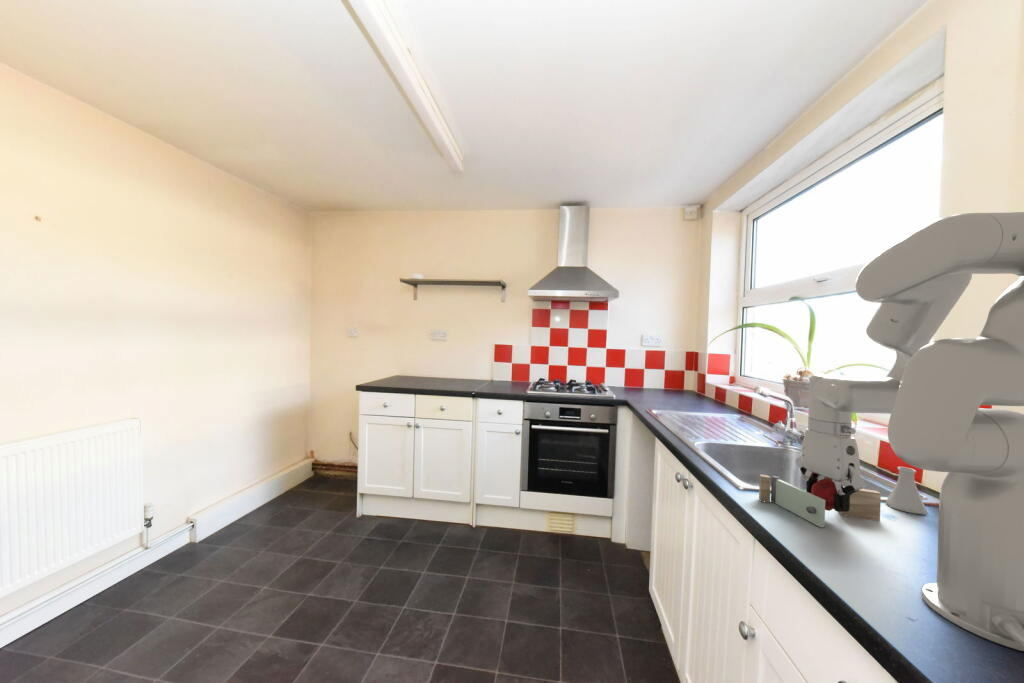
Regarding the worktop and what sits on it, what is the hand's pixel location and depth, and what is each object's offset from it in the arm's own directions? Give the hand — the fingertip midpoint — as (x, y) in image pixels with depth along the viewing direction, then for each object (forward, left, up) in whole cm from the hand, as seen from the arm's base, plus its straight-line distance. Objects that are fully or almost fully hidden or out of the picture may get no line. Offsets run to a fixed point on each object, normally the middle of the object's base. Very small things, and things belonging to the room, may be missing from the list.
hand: (826, 503), depth 82 cm
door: (0, +6, -3) cm, 7 cm away
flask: (+16, -21, -4) cm, 27 cm away
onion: (0, 0, -2) cm, 2 cm away
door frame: (+5, 0, -4) cm, 6 cm away
